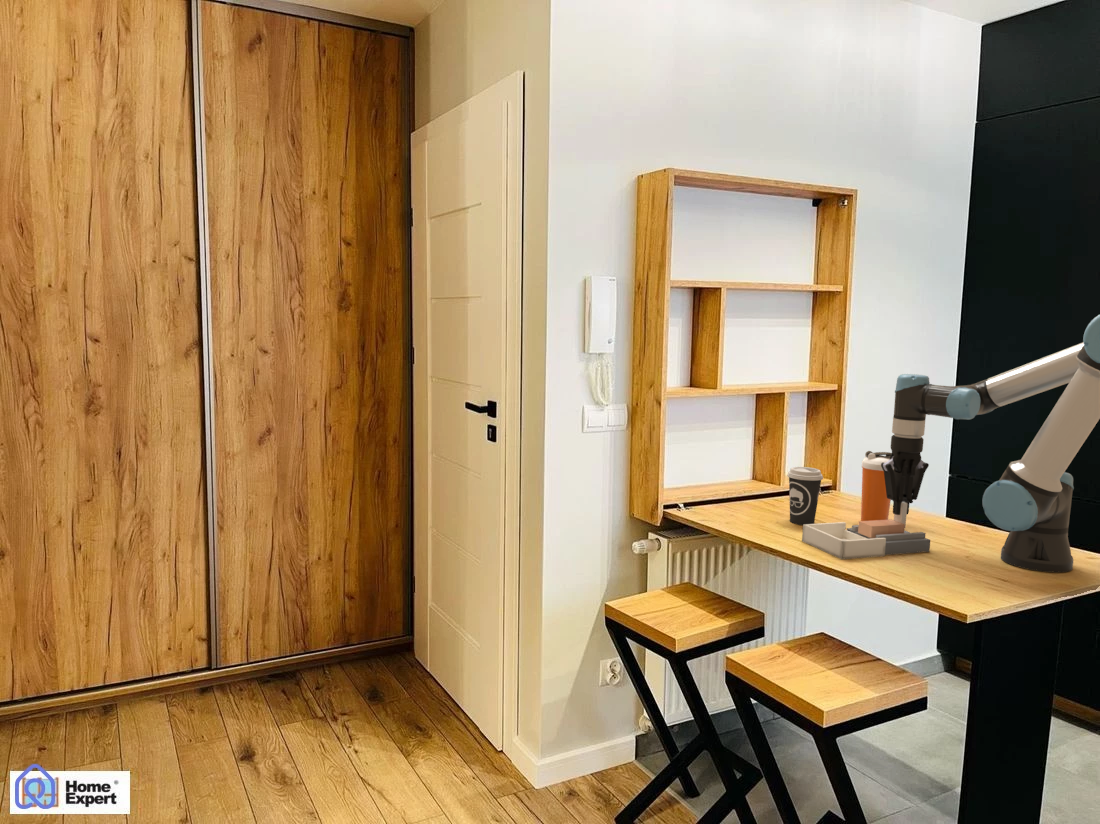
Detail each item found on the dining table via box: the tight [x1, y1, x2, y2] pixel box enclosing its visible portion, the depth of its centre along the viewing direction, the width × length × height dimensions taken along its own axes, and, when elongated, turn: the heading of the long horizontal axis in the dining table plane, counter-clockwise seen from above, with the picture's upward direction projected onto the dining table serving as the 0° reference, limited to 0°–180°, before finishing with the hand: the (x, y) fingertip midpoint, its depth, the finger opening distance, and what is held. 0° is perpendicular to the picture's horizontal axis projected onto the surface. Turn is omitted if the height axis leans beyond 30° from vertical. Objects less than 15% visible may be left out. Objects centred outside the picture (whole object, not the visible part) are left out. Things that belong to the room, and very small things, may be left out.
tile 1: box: [858, 520, 889, 538], centre depth 214 cm, size 5×5×3 cm
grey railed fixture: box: [846, 524, 931, 556], centre depth 216 cm, size 14×14×4 cm
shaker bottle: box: [860, 450, 894, 521], centre depth 239 cm, size 9×9×20 cm
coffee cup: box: [787, 466, 824, 526], centre depth 236 cm, size 10×10×15 cm
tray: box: [801, 521, 886, 560], centre depth 212 cm, size 16×12×4 cm
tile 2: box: [876, 518, 906, 534], centre depth 216 cm, size 5×5×3 cm
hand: (899, 526), depth 217 cm, fingers closed
